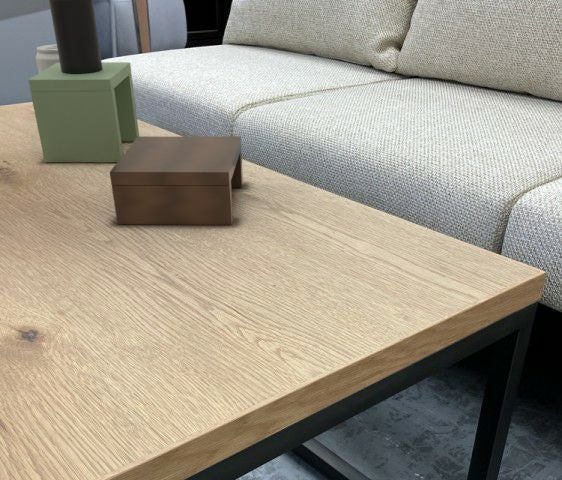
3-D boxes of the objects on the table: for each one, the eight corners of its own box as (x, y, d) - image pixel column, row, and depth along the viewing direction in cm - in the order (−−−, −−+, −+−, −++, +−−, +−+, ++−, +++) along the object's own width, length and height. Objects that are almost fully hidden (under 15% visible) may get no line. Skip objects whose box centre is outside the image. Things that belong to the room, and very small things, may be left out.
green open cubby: (44, 162, 99) (27, 79, 93) (69, 138, 109) (56, 62, 103) (121, 162, 98) (109, 79, 92) (139, 138, 108) (130, 62, 102)
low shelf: (117, 224, 79) (109, 171, 76) (143, 183, 91) (137, 136, 87) (231, 225, 78) (228, 171, 75) (243, 183, 90) (241, 136, 87)
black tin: (56, 74, 95) (42, -1, 90) (68, 66, 100) (56, -5, 95) (96, 74, 95) (85, -1, 90) (107, 66, 100) (96, -6, 95)
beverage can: (96, 122, 117) (84, 44, 110) (72, 132, 112) (57, 50, 105) (66, 119, 119) (52, 41, 112) (40, 128, 114) (24, 48, 108)
